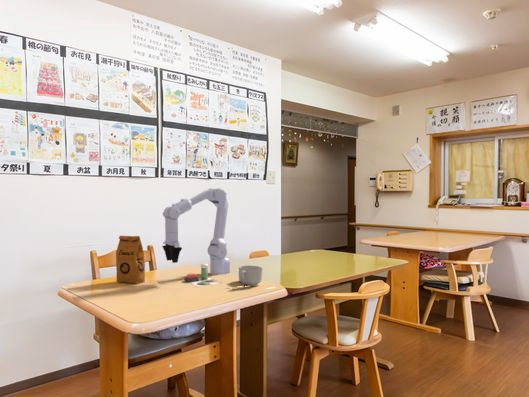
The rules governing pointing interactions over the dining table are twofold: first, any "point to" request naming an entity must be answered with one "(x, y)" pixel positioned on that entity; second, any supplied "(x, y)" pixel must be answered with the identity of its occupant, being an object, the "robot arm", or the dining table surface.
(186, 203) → the robot arm
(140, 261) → the coffee package
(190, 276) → the button
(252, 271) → the teacup
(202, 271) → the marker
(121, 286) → the dining table surface
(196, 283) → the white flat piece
